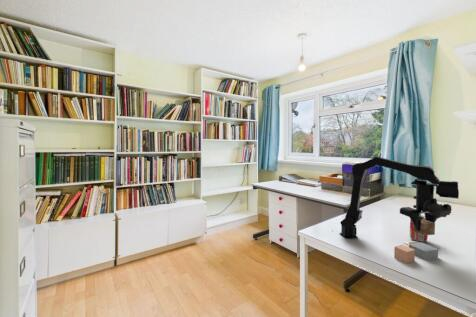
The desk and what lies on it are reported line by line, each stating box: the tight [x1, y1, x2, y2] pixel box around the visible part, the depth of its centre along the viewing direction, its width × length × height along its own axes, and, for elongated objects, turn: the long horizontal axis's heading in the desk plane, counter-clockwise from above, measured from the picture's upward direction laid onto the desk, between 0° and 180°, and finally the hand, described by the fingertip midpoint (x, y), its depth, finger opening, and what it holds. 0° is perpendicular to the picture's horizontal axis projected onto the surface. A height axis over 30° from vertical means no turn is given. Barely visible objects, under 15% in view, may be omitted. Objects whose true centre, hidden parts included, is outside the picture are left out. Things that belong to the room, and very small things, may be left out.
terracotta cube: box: [393, 244, 416, 264], centre depth 92 cm, size 5×5×5 cm
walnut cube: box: [413, 219, 436, 236], centre depth 95 cm, size 5×5×5 cm
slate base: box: [408, 242, 439, 261], centre depth 95 cm, size 7×7×4 cm
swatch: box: [403, 240, 420, 246], centre depth 104 cm, size 7×7×1 cm
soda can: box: [409, 215, 429, 243], centre depth 109 cm, size 7×7×12 cm
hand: (423, 230), depth 95 cm, fingers closed on walnut cube, 5 cm apart
